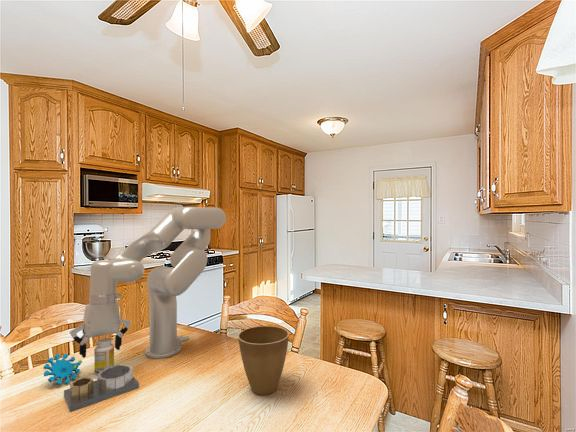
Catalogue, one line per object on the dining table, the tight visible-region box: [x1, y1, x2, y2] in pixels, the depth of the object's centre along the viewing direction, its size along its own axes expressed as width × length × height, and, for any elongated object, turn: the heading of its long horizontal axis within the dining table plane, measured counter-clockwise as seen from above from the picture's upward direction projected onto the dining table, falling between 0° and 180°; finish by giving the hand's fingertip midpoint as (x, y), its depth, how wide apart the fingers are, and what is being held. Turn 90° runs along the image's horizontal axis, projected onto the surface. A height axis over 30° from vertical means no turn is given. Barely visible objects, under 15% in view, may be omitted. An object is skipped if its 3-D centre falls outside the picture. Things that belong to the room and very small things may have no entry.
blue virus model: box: [43, 353, 83, 386], centre depth 99 cm, size 11×6×10 cm
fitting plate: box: [63, 364, 140, 413], centre depth 92 cm, size 17×10×4 cm, turn 132°
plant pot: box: [237, 325, 290, 396], centre depth 94 cm, size 15×15×16 cm
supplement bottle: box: [93, 337, 115, 375], centre depth 104 cm, size 6×6×10 cm
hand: (100, 352), depth 104 cm, fingers open, 9 cm apart
